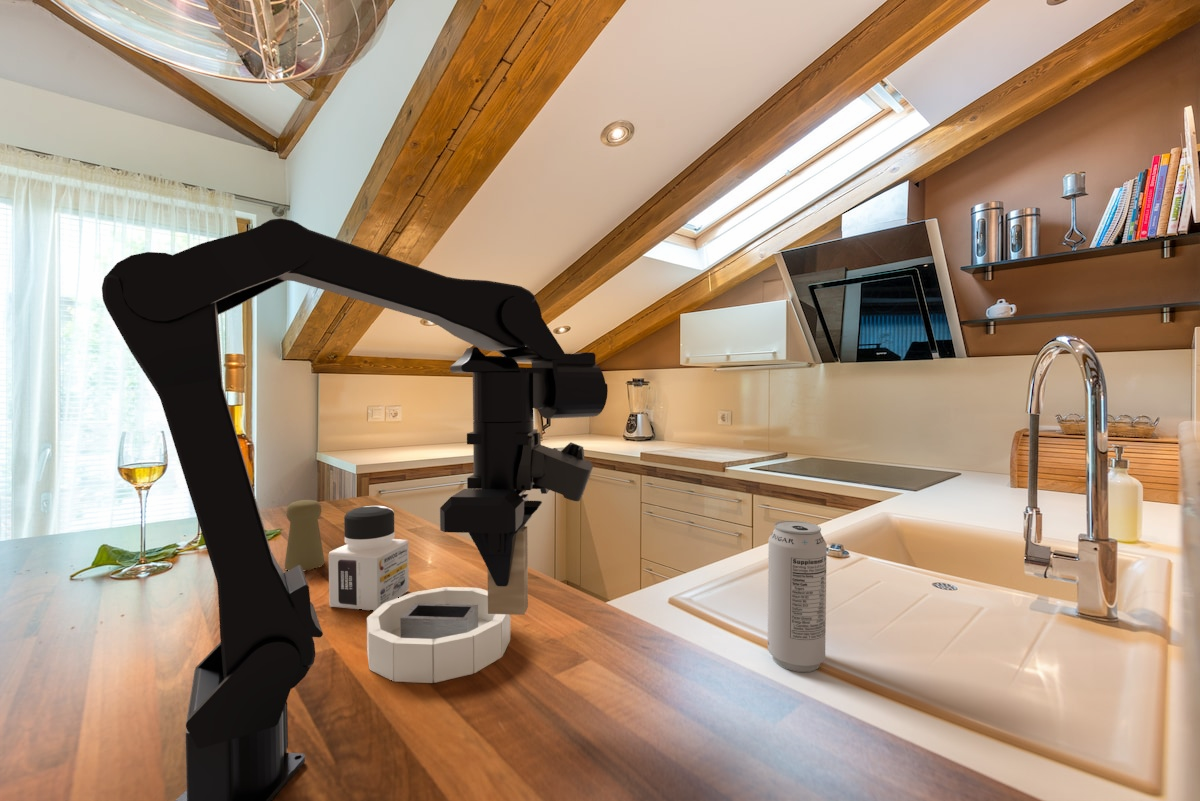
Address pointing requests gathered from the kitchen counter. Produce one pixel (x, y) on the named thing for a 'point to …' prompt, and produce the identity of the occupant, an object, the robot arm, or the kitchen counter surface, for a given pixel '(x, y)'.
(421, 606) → the open rectangular box
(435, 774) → the kitchen counter surface
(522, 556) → the wooden block
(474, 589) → the white faceted bowl
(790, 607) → the energy drink can
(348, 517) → the container
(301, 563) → the cork
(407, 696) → the kitchen counter surface
